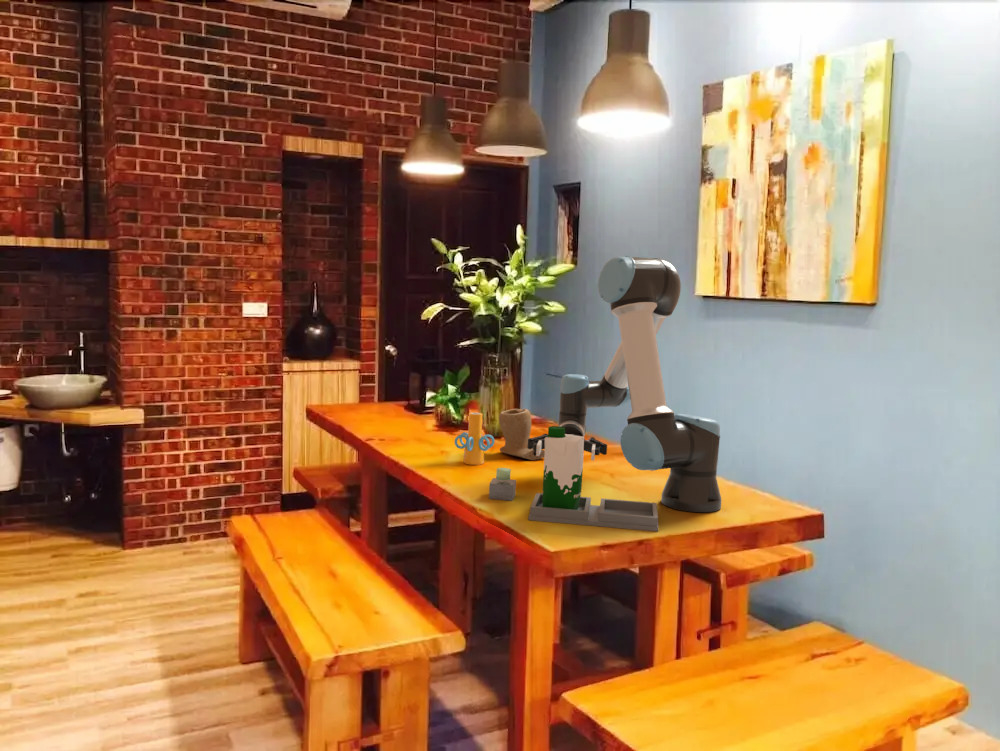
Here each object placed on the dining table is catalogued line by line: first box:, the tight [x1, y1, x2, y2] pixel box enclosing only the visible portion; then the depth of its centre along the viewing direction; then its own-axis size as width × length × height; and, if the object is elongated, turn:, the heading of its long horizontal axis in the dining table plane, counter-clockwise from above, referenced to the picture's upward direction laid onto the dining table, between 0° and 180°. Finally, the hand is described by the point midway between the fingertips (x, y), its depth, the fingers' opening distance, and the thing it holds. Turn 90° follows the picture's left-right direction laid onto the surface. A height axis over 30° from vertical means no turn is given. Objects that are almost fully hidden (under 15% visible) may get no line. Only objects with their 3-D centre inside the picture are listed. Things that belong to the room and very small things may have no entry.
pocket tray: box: [528, 492, 659, 532], centre depth 211 cm, size 30×14×3 cm, turn 81°
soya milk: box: [542, 425, 585, 510], centre depth 211 cm, size 9×9×20 cm
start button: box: [495, 467, 512, 480], centre depth 225 cm, size 4×4×2 cm
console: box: [488, 477, 517, 502], centre depth 226 cm, size 6×6×4 cm
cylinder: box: [454, 411, 495, 466], centre depth 263 cm, size 12×10×15 cm
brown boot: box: [498, 408, 545, 461], centre depth 275 cm, size 15×12×15 cm
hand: (565, 452), depth 217 cm, fingers open, 13 cm apart
